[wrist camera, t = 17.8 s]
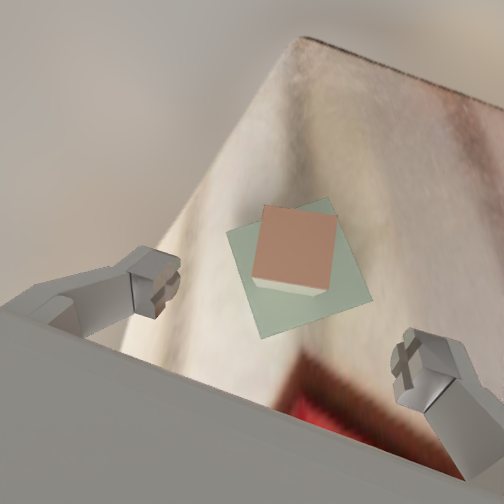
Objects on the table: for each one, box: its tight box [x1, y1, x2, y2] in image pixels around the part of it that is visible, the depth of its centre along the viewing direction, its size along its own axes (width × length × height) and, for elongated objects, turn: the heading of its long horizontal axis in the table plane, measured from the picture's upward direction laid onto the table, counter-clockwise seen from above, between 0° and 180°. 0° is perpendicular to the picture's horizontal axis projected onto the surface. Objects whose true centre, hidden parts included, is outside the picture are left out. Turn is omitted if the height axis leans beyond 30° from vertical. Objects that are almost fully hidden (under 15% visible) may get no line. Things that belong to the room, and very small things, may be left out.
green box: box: [226, 197, 373, 339], centre depth 34 cm, size 12×12×6 cm
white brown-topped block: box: [251, 205, 338, 297], centre depth 27 cm, size 6×6×8 cm
